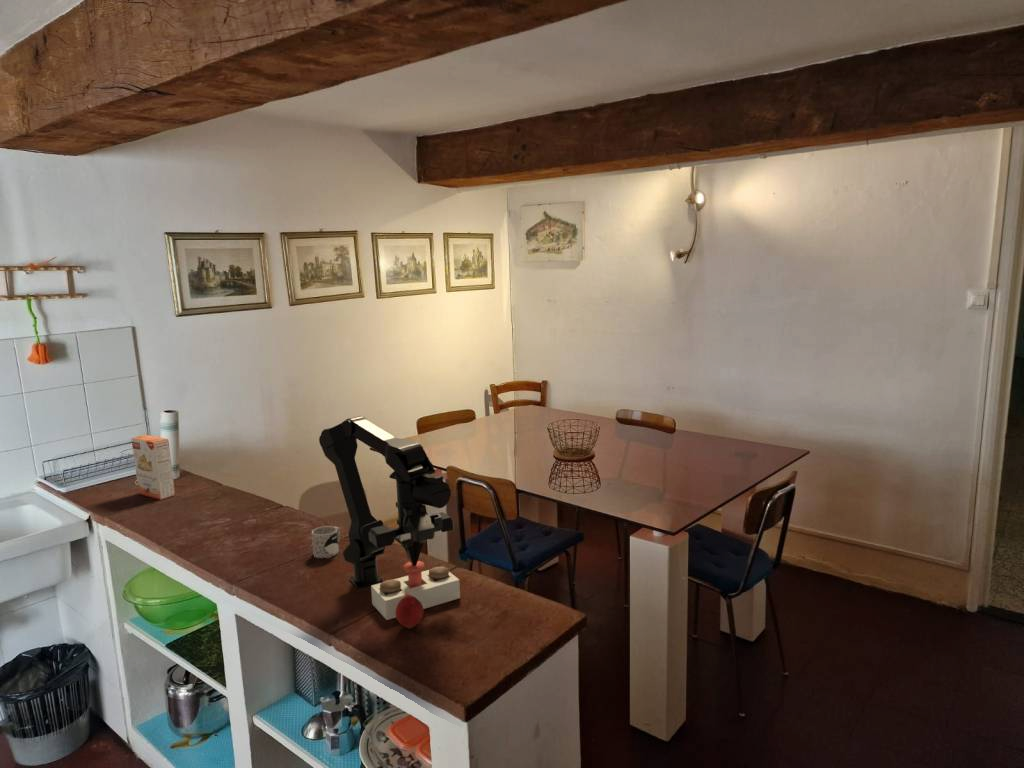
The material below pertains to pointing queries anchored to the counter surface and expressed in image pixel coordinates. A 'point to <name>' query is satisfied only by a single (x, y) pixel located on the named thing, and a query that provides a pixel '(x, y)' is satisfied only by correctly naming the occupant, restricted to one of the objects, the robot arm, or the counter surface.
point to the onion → (409, 611)
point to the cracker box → (153, 466)
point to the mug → (325, 541)
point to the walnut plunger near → (390, 586)
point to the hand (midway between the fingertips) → (414, 564)
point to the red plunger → (414, 573)
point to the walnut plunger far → (438, 573)
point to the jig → (417, 593)
